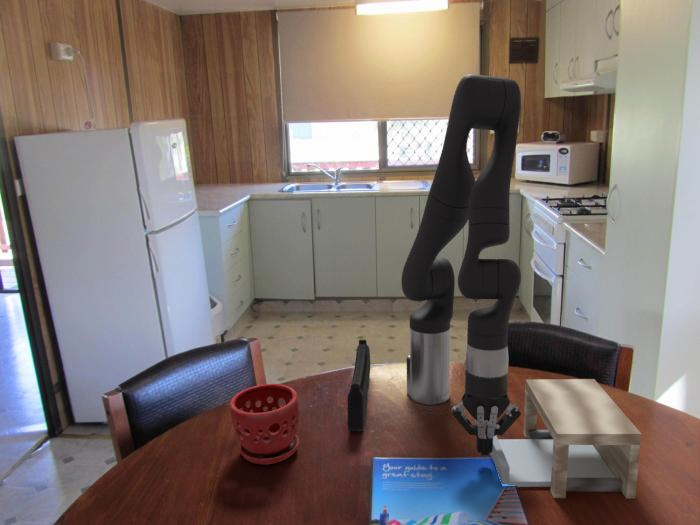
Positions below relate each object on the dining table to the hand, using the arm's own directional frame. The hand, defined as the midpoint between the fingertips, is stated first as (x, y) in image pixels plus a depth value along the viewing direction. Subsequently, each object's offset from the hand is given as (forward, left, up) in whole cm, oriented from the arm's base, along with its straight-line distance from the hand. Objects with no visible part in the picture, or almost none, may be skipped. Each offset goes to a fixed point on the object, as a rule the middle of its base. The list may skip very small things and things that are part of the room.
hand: (484, 453), depth 107 cm
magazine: (-35, +1, -2) cm, 35 cm away
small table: (+12, +12, -2) cm, 17 cm away
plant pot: (-32, -27, -2) cm, 42 cm away
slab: (+8, +8, -2) cm, 12 cm away
